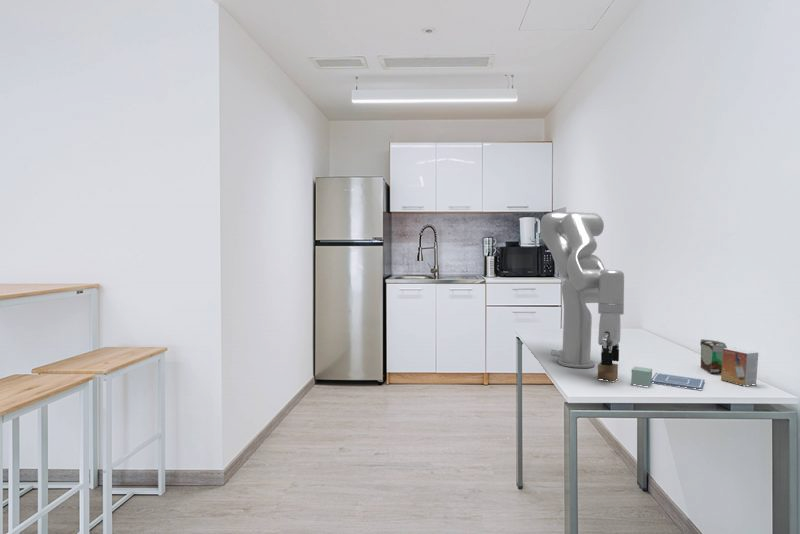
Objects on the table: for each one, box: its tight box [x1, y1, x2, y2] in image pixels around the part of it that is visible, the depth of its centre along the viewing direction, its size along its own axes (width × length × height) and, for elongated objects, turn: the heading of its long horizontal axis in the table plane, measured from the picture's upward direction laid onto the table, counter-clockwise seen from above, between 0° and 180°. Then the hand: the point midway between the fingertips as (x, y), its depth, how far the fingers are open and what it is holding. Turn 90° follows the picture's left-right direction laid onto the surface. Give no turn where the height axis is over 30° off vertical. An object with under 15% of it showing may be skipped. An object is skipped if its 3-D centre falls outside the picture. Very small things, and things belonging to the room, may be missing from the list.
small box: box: [720, 347, 759, 385], centre depth 168 cm, size 8×6×10 cm
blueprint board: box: [652, 372, 706, 390], centre depth 167 cm, size 14×12×1 cm
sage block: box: [630, 366, 653, 388], centre depth 163 cm, size 5×5×5 cm
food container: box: [700, 339, 728, 375], centre depth 182 cm, size 12×6×10 cm, turn 168°
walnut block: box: [597, 362, 619, 382], centre depth 169 cm, size 5×5×5 cm
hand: (610, 363), depth 168 cm, fingers open, 9 cm apart
